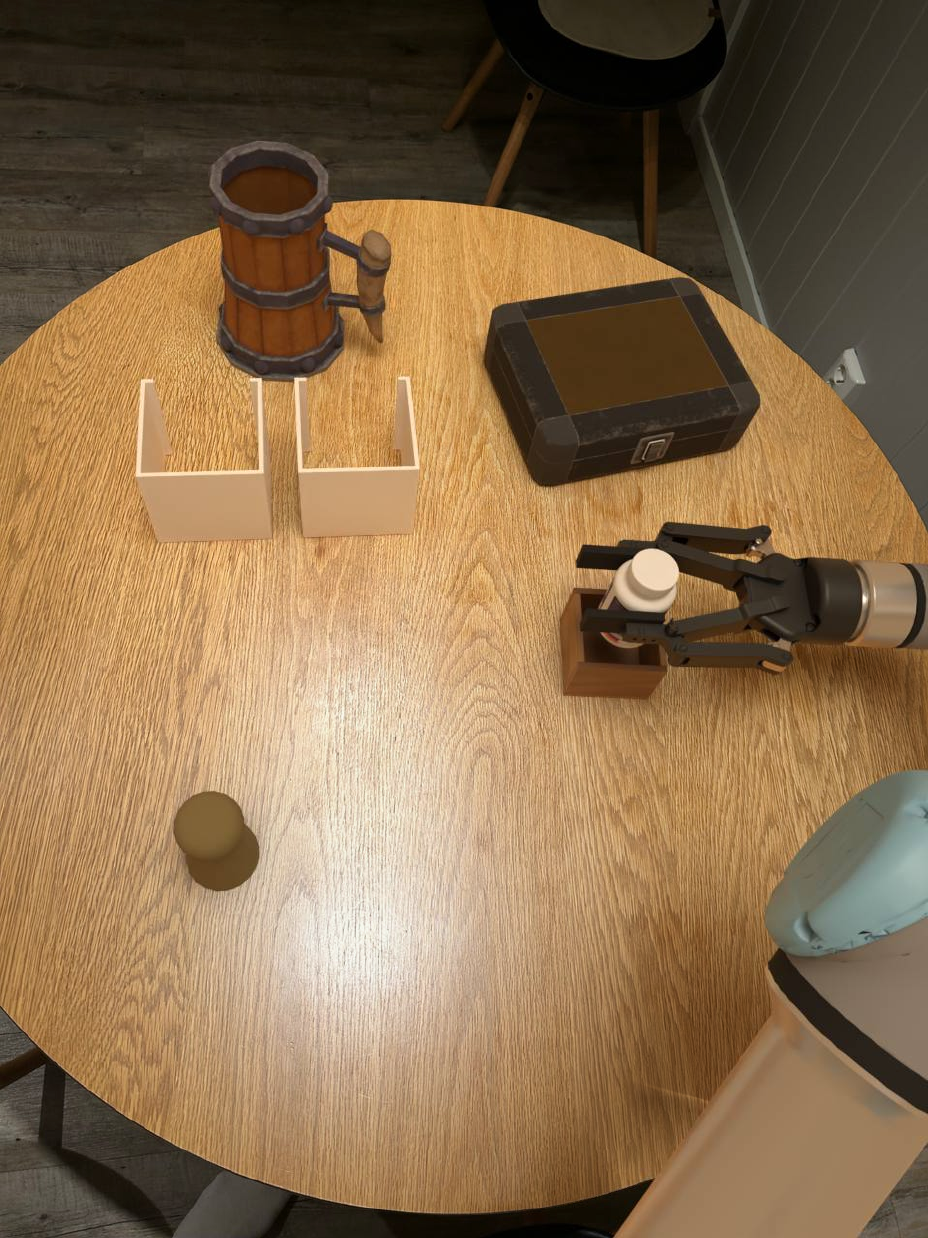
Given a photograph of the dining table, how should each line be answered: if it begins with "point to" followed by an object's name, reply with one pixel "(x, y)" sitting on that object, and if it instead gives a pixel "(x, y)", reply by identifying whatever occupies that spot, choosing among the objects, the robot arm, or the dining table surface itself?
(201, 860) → the cork
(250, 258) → the mug
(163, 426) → the beige u-shaped pieces
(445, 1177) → the dining table surface
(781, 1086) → the robot arm
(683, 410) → the cash box
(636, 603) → the pill bottle
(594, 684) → the wooden box
